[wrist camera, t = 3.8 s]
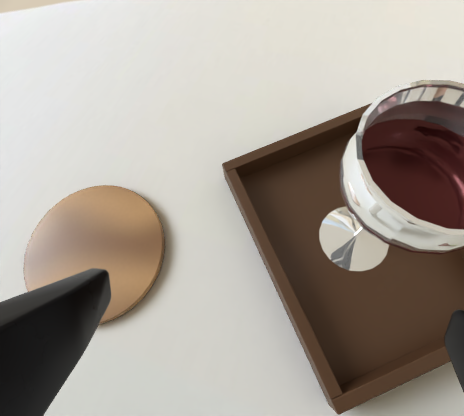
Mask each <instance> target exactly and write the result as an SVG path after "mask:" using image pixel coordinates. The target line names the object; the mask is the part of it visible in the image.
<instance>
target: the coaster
mask: <svg viewBox="0 0 464 416" xmlns="http://www.w3.org/2000/svg"><path fill="white" fill-rule="evenodd" d="M164 250H165V239H164V232H163V228H162V224H161V222H160V219H159V217H158V215H157V214H156V212H155V210H154V209H153V208H152V207H151V205H150V204H149V203H148V202H147V201H146V200H145V199H144V198H142V197H141V196H140V195H138V194H137V193H135V192H133V191H131V190H128V189H125V188H122V187H117V186H105V185H104V186H94V187H90V188H86V189H83V190H80V191H77V192H75V193H73V194H71V195H69V196H68V197H66V198H64V199H63V200H61V201H60V202H59V203H57V204H56V205H55V206H54V207H53V208H51V209H50V210H49V211H48V212H47V214H46V215H45V216H44V217H43V218H42V219H41V221H40V222H39V224H38V225H37V227H36V228H35V230H34V232H33V233H32V236H31V238H30V240H29V243H28V246H27V249H26V253H25V258H24V279H25V284H26V288H27V290H28V292H29V291H32V290H35V289H37V288H40V287H43V286H45V285H48V284H51V283H54V282H56V281H59V280H62V279H64V278H67V277H70V276H72V275H75V274H78V273H80V272H83V271H86V270H88V269H91V268H98V269H106V270H107V271H108V273H109V277H110V286H111V301H110V304H109V306H108V308H107V309H106V311H105V313H104V315H103V317H102V319H101V321H100V323H99V324H102V323H105V322H108V321H111V320H113V319H115V318H117V317H119V316H121V315H123V314H124V313H126V312H127V311H129V310H130V309H132V308H133V307H134V306H135V305H136V304H137V303H139V302H140V300H141V299H142V298H143V297H144V296H145V295H146V294H147V292H148V291H149V290H150V288H151V287H152V285H153V283H154V282H155V280H156V278H157V276H158V273H159V271H160V269H161V265H162V261H163V257H164Z"/></svg>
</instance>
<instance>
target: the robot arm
mask: <svg viewBox="0 0 464 416" xmlns="http://www.w3.org/2000/svg"><path fill="white" fill-rule="evenodd" d="M110 301H111V286H110V277H109V273H108V271H107V270H106V269H98V268H91V269H88V270H86V271H83V272H80V273H78V274H75V275H72V276H70V277H67V278H64V279H62V280H59V281H56V282H54V283H51V284H48V285H45V286H43V287H40V288H37V289H35V290H32V291H29V292H27V293H24V294H21V295H19V296H16V297H13V298H11V299H8V300H5V301H3V302H0V416H43V415H44V413H45V412H46V410H47V409H48V407H49V406H50V404H51V403H52V401H53V400H54V398H55V396H56V395H57V393H58V392H59V390H60V389H61V387H62V386H63V384H64V383H65V381H66V380H67V378H68V376H69V375H70V373H71V372H72V370H73V369H74V367H75V366H76V364H77V363H78V361H79V359H80V358H81V356H82V355H83V353H84V351H85V350H86V348H87V346H88V344H89V342H90V340H91V338H92V336H93V335H94V333H95V331H96V329H97V327H98V325H99V323H100V321H101V319H102V317H103V315H104V313H105V311H106V309H107V308H108V306H109V304H110ZM444 342H445V347H446V349H447V352H448V354H449V357H450V359H451V362H452V364H453V367H454V369H455V372H456V374H457V377H458V379H459V382H460V384H461V387H462V389H463V392H464V310H460V309H458V310H455V311H454V312H453V313H452V316H451V318H450V321H449V324H448V327H447V330H446V333H445V337H444Z"/></svg>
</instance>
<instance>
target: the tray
mask: <svg viewBox="0 0 464 416" xmlns="http://www.w3.org/2000/svg"><path fill="white" fill-rule="evenodd" d="M371 104H372V103H371ZM371 104H368V105H366V106H364V107H361V108H359V109H356V110H354V111H351V112H349V113H346V114H344V115H341V116H339V117H336V118H334V119H331V120H329V121H326V122H324V123H322V124H319V125H317V126H314V127H312V128H309V129H307V130H304V131H302V132H299V133H297V134H294V135H292V136H289V137H287V138H284V139H282V140H279V141H277V142H275V143H272V144H270V145H267V146H265V147H262V148H260V149H257V150H255V151H252V152H250V153H247V154H245V155H242V156H240V157H237V158H235V159H232V160H230V161H228V162H225V163H223V164H222V167H223V171H224V175H225V179H226V181H227V183H228V185H229V187H230V190H231V192H232V194H233V196H234V198H235V201H236V203H237V205H238V207H239V209H240V211H241V214H242V216H243V218H244V220H245V222H246V225H247V227H248V229H249V231H250V233H251V236H252V238H253V240H254V242H255V244H256V246H257V249H258V251H259V253H260V255H261V257H262V260H263V262H264V264H265V266H266V268H267V270H268V273H269V275H270V277H271V279H272V281H273V284H274V286H275V288H276V290H277V292H278V295H279V297H280V299H281V301H282V303H283V305H284V308H285V310H286V312H287V314H288V316H289V319H290V321H291V323H292V325H293V327H294V330H295V332H296V334H297V336H298V338H299V340H300V343H301V345H302V347H303V349H304V351H305V354H306V356H307V358H308V360H309V362H310V364H311V367H312V369H313V371H314V373H315V375H316V378H317V380H318V382H319V384H320V386H321V389H322V391H323V393H324V395H325V397H326V399H327V402H328V404H329V405H330V406H331V407H332V408H333V410H334V411H335V412H336V413H337V414H341V413H343V412H345V411H348V410H350V409H352V408H354V407H356V406H358V405H360V404H362V403H364V402H366V401H368V400H370V399H373V398H375V397H377V396H379V395H381V394H383V393H385V392H387V391H389V390H391V389H393V388H396V387H398V386H400V385H402V384H404V383H406V382H408V381H410V380H412V379H414V378H416V377H418V376H421V375H423V374H425V373H427V372H429V371H431V370H433V369H435V368H437V367H439V366H441V365H444V364H446V363H448V362H450V361H451V359H450V357H449V354H448V352H447V349H446V347H445V342H444V337H445V333H446V330H447V327H448V324H449V321H450V318H451V316H452V313H453V312H454V311H455V310H458V309H460V310H464V249H461V250H457V251H453V252H449V253H444V254H426V253H412V252H407V251H405V250H402V249H399V248H396V247H393V246H391V245H389V247H388V251H387V255H386V256H385V258H384V259H383V260H382V262H381V263H380V264H378V265H377V266H375V267H374V268H372V269H369V270H365V271H349V270H347V269H344V268H342V267H339V266H338V265H336V264H335V263H334V262H332V261H331V260H330V259H329V258H328V257H327V255H326V254H325V252H324V251H323V249H322V246H321V243H320V240H319V230H320V227H321V224H322V221H323V220H324V219H325V217H326V216H327V215H328V214H329V213H330V212H332V211H334V210H335V209H337V208H341V207H346V204H345V202H344V199H343V196H342V194H341V191H340V177H339V168H340V163H341V159H342V156H343V153H344V151H345V148H346V145H347V142H348V141H349V140H350V138H351V137H352V136H353V135H354V134H355V133H356V132H357V130H358V127H359V124H360V121H361V118H362V115H363V113H364V112H365V111H366V110H367V109H368V108H369V107H370V105H371Z"/></svg>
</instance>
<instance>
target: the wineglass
mask: <svg viewBox="0 0 464 416" xmlns="http://www.w3.org/2000/svg"><path fill="white" fill-rule="evenodd" d="M339 177H340V191H341V194H342V196H343V199H344V202H345V204H346V207H341V208H337V209H335V210H334V211H332V212H330V213H329V214H328V215H327V216H326V217H325V219H324V220H323V221H322V224H321V227H320V230H319V240H320V243H321V246H322V249H323V251H324V252H325V254H326V255H327V257H328V258H329V259H330V260H331V261H332V262H334V263H335V264H336V265H338V266H339V267H342V268H344V269H347V270H349V271H365V270H369V269H372V268H374V267H375V266H377V265H378V264H380V263H381V262H382V260H383V259H384V258H385V256H386V255H387V251H388V247H389V245H391V246H393V247H396V248H399V249H402V250H405V251H407V252H412V253H426V254H444V253H449V252H453V251H457V250H461V249H464V84H462V83H458V82H453V81H444V80H421V81H417V82H413V83H408V84H404V85H400V86H397V87H395V88H393V89H392V90H390V91H388V92H386V93H384V94H383V95H381V96H379V97H377V98H376V100H375V101H374V102H373V103H372V104H371V105H370V107H369V108H368V109H367V110H366V111H365V112H364V113H363V115H362V118H361V121H360V124H359V127H358V130H357V132H356V133H355V134H354V135H353V136H352V137H351V138H350V140H349V141H348V142H347V145H346V148H345V151H344V153H343V156H342V159H341V163H340V168H339Z"/></svg>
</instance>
